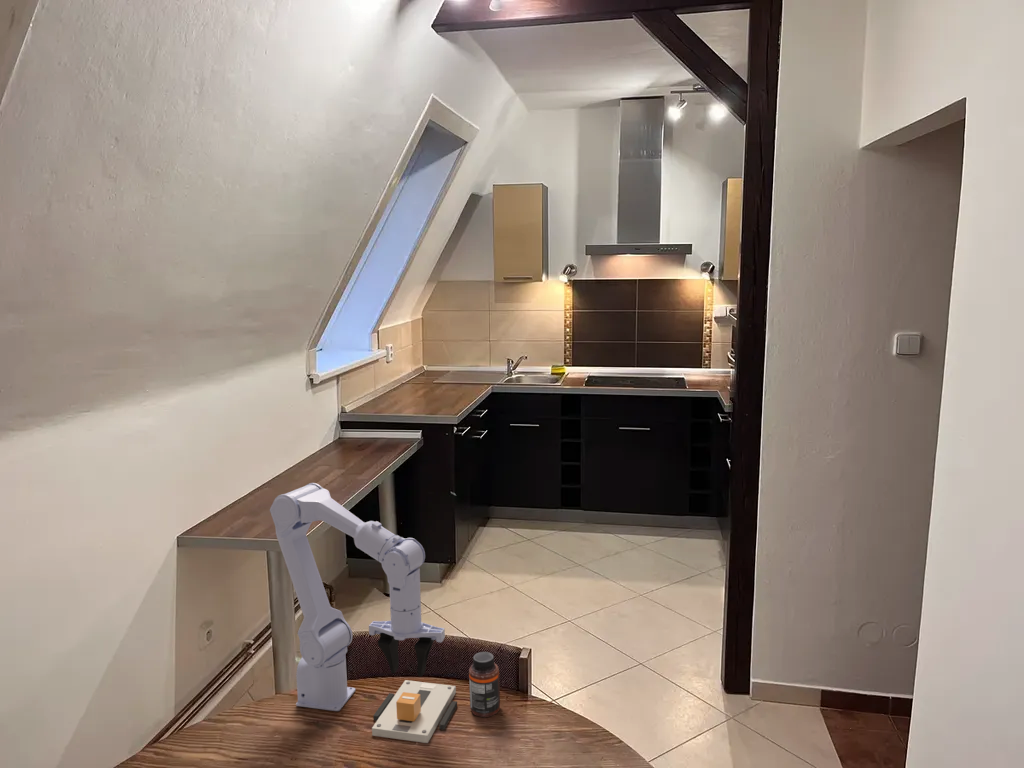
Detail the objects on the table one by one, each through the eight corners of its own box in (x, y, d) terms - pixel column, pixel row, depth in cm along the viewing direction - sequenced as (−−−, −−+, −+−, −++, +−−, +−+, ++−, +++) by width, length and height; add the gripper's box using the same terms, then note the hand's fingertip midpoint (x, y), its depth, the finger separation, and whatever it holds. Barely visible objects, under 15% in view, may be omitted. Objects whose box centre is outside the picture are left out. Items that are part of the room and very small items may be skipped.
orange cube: (397, 719, 144) (396, 701, 143) (403, 708, 147) (403, 691, 147) (414, 721, 143) (413, 703, 142) (420, 710, 146) (420, 693, 146)
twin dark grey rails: (373, 720, 146) (373, 715, 146) (389, 697, 154) (389, 693, 154) (444, 729, 143) (444, 724, 143) (457, 706, 151) (456, 701, 151)
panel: (372, 735, 142) (371, 727, 142) (405, 686, 158) (405, 679, 158) (427, 743, 139) (427, 735, 139) (455, 692, 156) (455, 685, 155)
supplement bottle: (483, 697, 154) (482, 645, 152) (506, 708, 150) (505, 654, 148) (463, 711, 149) (462, 657, 147) (486, 722, 145) (485, 667, 144)
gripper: (360, 610, 140) (364, 678, 142) (435, 618, 136) (437, 687, 139) (376, 594, 147) (379, 659, 149) (447, 601, 143) (449, 667, 145)
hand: (408, 672), depth 144 cm, fingers open, 5 cm apart
